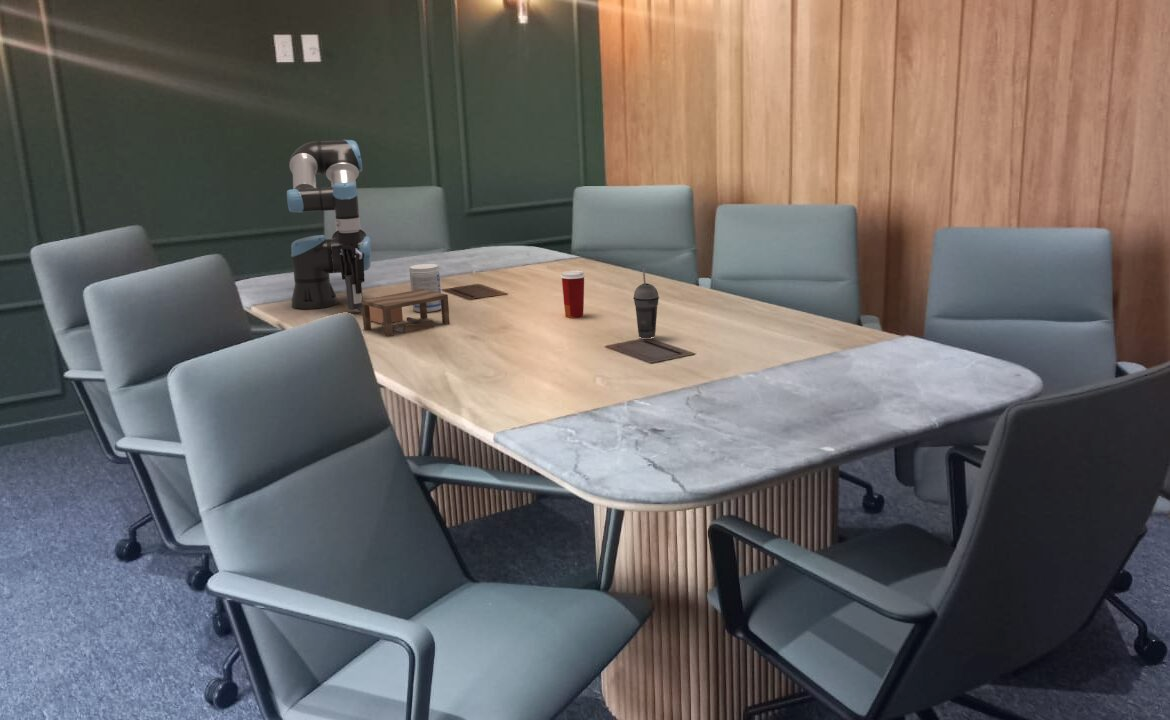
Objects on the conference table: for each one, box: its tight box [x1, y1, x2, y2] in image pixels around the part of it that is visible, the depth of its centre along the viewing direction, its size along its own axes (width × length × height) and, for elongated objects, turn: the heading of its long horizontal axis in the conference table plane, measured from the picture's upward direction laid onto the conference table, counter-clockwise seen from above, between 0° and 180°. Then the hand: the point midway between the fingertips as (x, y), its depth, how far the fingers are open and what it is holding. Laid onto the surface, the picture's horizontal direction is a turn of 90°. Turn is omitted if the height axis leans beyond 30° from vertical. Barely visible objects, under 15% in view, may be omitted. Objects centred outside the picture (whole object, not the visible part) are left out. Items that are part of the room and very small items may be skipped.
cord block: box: [344, 275, 404, 325], centre depth 325 cm, size 24×7×12 cm, turn 42°
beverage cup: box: [632, 267, 660, 338], centre depth 286 cm, size 7×7×20 cm
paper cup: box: [560, 270, 586, 319], centre depth 316 cm, size 8×8×14 cm
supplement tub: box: [409, 263, 442, 313], centre depth 333 cm, size 10×10×15 cm
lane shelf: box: [361, 289, 451, 337], centre depth 310 cm, size 14×22×9 cm, turn 132°
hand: (355, 302), depth 333 cm, fingers closed on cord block, 3 cm apart
